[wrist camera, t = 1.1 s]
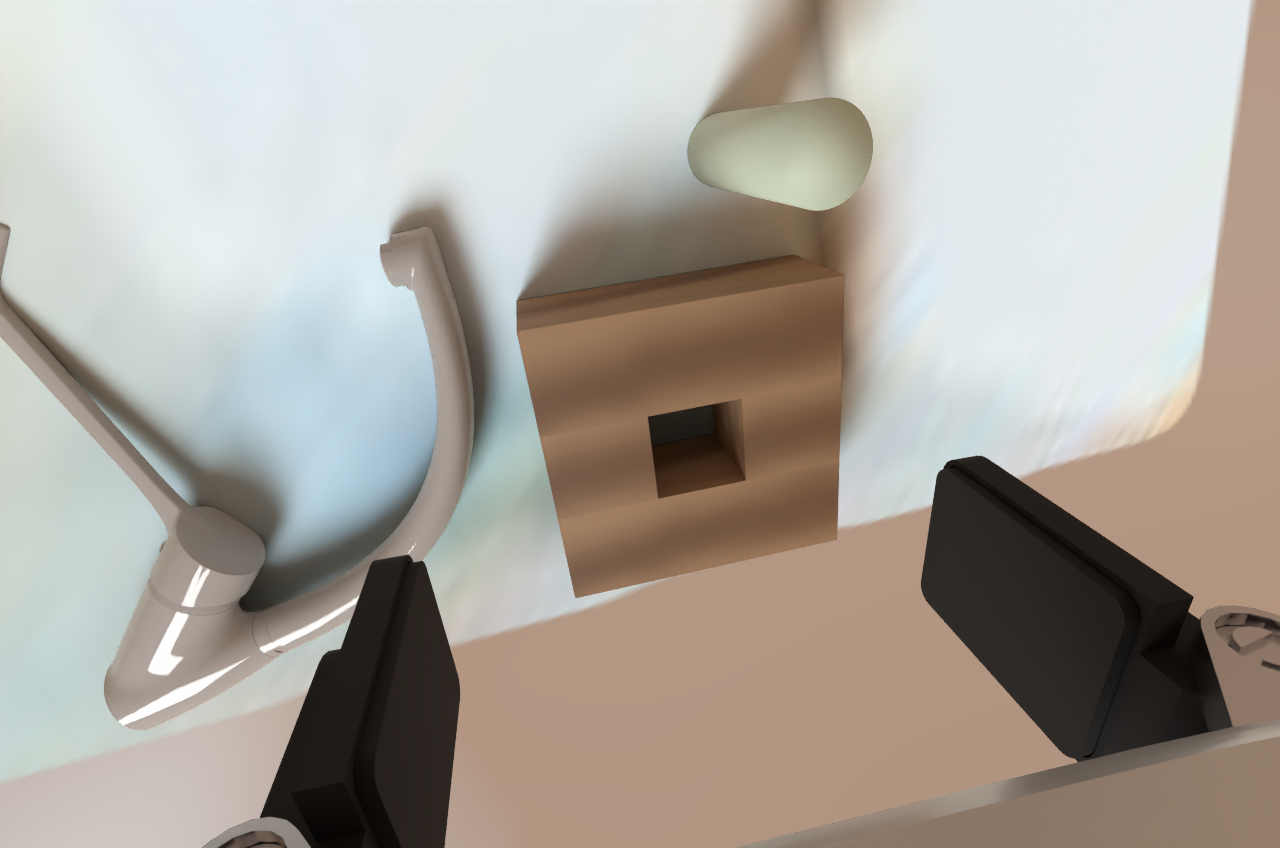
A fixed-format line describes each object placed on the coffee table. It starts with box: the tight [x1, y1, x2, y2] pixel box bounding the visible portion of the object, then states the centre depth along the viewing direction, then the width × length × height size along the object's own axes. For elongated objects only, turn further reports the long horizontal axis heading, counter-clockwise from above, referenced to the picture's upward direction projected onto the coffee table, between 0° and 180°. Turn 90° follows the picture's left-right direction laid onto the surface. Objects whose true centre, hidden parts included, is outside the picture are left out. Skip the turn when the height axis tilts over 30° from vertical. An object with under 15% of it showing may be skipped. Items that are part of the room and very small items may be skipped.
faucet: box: [0, 224, 474, 730], centre depth 32 cm, size 5×28×28 cm
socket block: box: [516, 255, 844, 598], centre depth 35 cm, size 16×16×6 cm
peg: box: [687, 98, 873, 211], centre depth 26 cm, size 4×4×12 cm
